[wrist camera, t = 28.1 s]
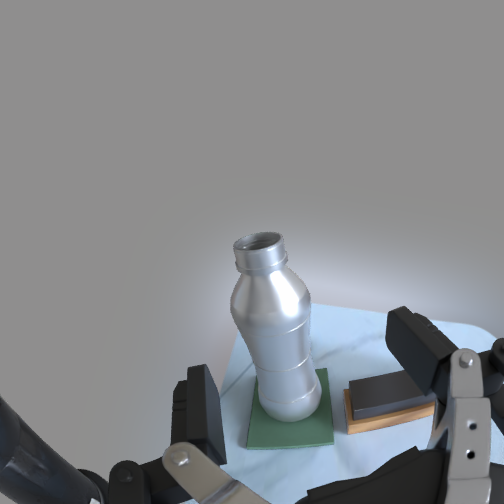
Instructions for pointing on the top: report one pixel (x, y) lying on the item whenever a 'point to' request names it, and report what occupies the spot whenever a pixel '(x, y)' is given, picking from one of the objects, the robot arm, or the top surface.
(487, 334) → the top surface
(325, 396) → the drying mat
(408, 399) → the grey and wooden block
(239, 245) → the silver metal bottle
